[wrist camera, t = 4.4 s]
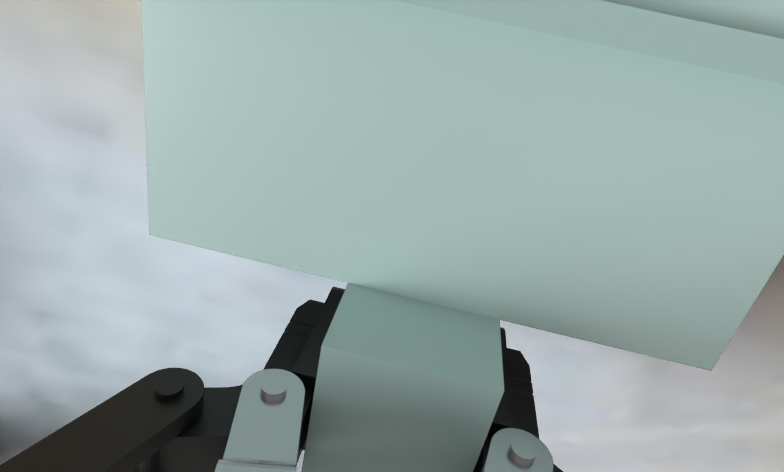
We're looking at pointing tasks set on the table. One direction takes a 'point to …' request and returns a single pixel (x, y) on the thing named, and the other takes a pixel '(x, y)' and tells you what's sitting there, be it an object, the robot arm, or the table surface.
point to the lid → (473, 185)
